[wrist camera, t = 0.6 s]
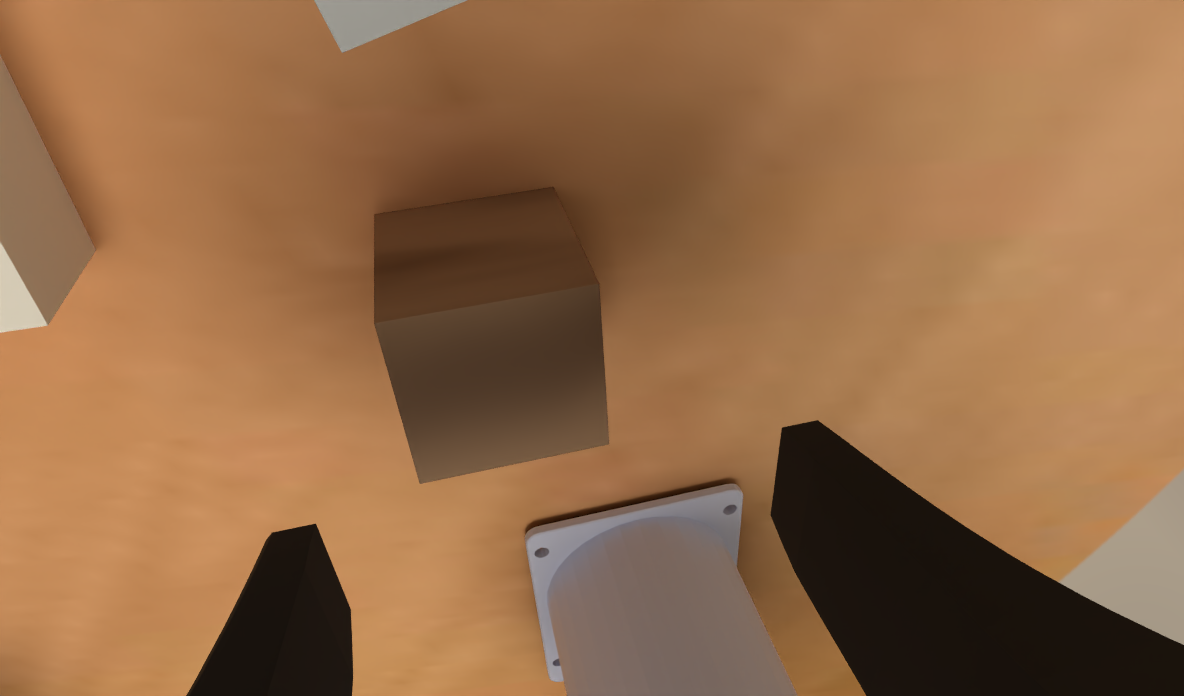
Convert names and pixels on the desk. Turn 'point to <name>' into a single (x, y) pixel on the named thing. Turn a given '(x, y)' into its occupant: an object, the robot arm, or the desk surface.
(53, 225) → the base block
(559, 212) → the walnut cube
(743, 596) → the robot arm
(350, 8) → the grey cube
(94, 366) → the desk surface
